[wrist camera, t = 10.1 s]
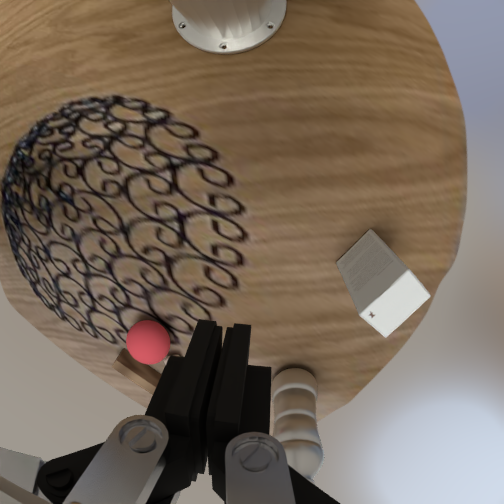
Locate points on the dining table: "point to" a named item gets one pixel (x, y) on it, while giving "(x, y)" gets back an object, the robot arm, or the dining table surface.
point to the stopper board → (137, 371)
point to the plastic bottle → (297, 420)
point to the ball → (148, 342)
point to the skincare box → (380, 284)
